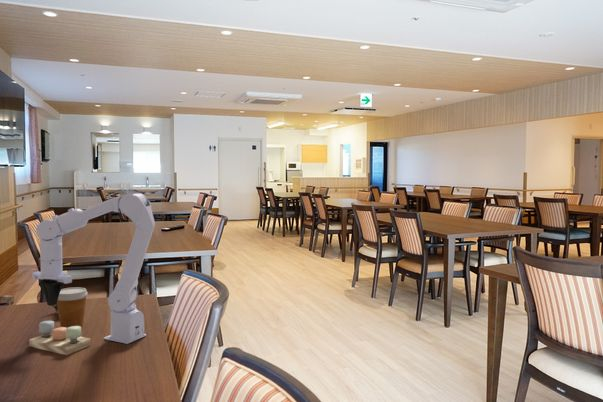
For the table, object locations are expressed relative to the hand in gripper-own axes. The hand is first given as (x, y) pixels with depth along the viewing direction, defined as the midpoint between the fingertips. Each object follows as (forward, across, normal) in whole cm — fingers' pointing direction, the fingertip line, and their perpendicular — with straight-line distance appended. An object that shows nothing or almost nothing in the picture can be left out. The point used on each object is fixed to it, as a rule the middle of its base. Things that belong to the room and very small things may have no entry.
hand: (52, 304), depth 135 cm
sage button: (+9, +13, -3) cm, 16 cm away
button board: (+10, +7, -3) cm, 13 cm away
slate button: (+9, +1, -3) cm, 9 cm away
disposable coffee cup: (+11, -4, +10) cm, 15 cm away
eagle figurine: (+11, -18, +19) cm, 28 cm away
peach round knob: (+10, +7, -3) cm, 12 cm away
